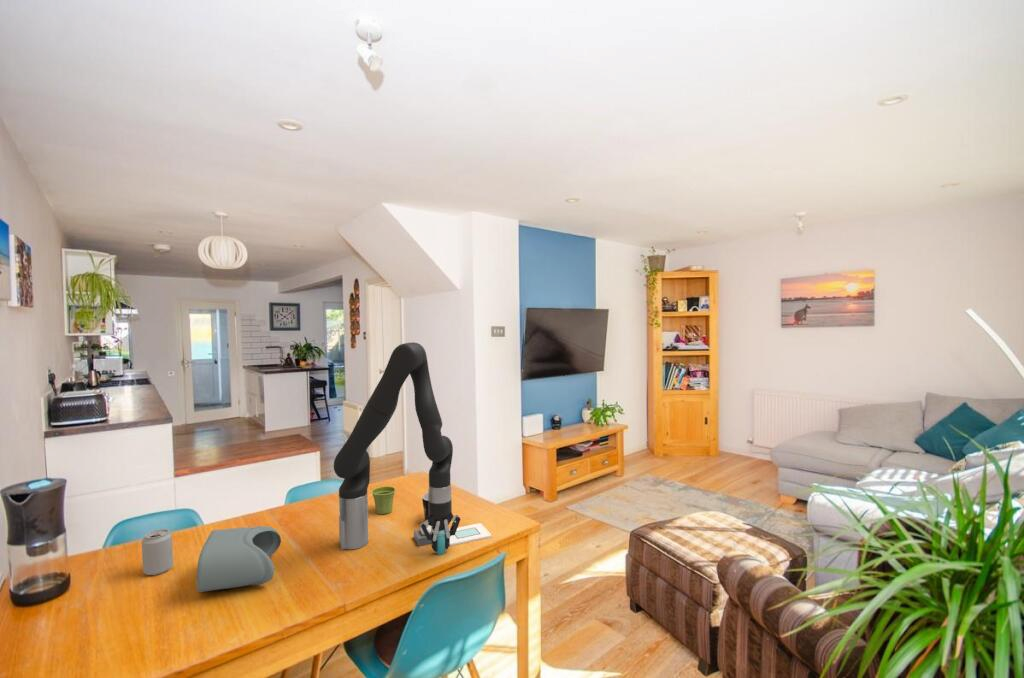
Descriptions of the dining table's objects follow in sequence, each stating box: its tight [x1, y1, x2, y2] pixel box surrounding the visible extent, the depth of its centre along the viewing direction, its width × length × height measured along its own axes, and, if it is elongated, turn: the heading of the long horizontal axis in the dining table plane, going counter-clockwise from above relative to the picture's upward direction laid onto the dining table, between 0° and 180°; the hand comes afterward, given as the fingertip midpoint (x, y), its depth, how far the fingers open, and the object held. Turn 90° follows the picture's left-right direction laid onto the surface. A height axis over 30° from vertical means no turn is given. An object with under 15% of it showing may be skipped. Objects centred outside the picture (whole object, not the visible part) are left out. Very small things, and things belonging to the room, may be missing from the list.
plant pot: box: [371, 485, 397, 515], centre depth 191 cm, size 9×9×9 cm
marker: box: [435, 529, 447, 556], centre depth 157 cm, size 3×3×8 cm
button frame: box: [413, 526, 432, 547], centre depth 167 cm, size 7×7×2 cm
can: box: [141, 528, 174, 576], centre depth 147 cm, size 8×8×12 cm
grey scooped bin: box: [196, 525, 282, 593], centre depth 144 cm, size 22×19×13 cm
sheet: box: [449, 522, 493, 547], centre depth 170 cm, size 17×11×1 cm, turn 115°
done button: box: [420, 525, 432, 537], centre depth 166 cm, size 4×4×3 cm
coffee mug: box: [421, 492, 432, 527], centre depth 182 cm, size 12×9×10 cm
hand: (440, 549), depth 157 cm, fingers closed on marker, 3 cm apart
